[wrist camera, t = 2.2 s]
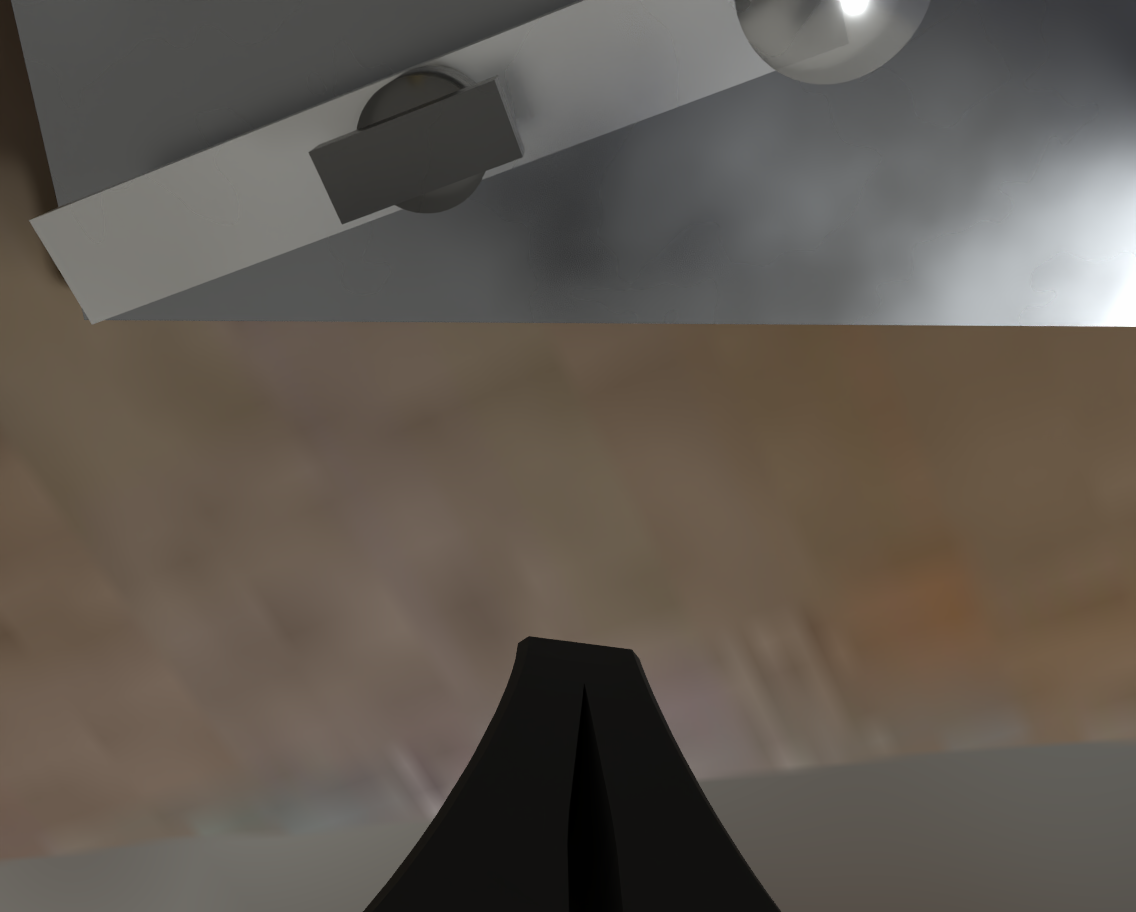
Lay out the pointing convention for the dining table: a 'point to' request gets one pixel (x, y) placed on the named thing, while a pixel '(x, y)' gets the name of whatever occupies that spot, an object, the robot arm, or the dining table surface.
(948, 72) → the crank plate
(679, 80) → the crank
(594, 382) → the dining table surface
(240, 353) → the dining table surface
